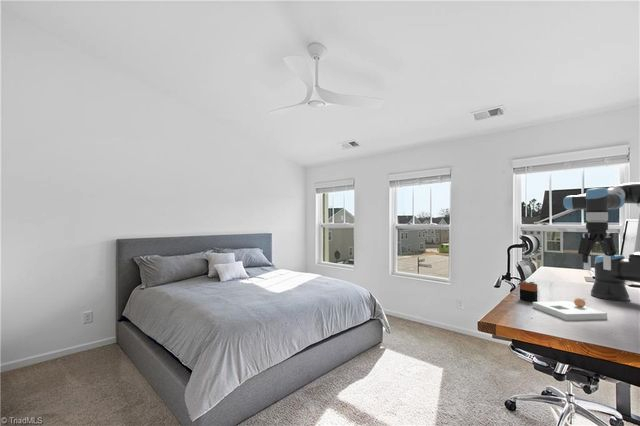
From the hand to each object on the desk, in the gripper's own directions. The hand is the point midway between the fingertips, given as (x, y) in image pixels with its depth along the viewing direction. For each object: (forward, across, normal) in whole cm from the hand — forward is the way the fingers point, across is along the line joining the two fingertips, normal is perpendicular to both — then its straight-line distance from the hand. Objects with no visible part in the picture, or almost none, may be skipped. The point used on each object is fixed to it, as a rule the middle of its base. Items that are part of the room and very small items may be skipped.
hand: (597, 269), depth 137 cm
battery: (+20, +18, -20) cm, 33 cm away
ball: (+15, +9, 0) cm, 18 cm away
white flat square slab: (+20, +15, 0) cm, 25 cm away
